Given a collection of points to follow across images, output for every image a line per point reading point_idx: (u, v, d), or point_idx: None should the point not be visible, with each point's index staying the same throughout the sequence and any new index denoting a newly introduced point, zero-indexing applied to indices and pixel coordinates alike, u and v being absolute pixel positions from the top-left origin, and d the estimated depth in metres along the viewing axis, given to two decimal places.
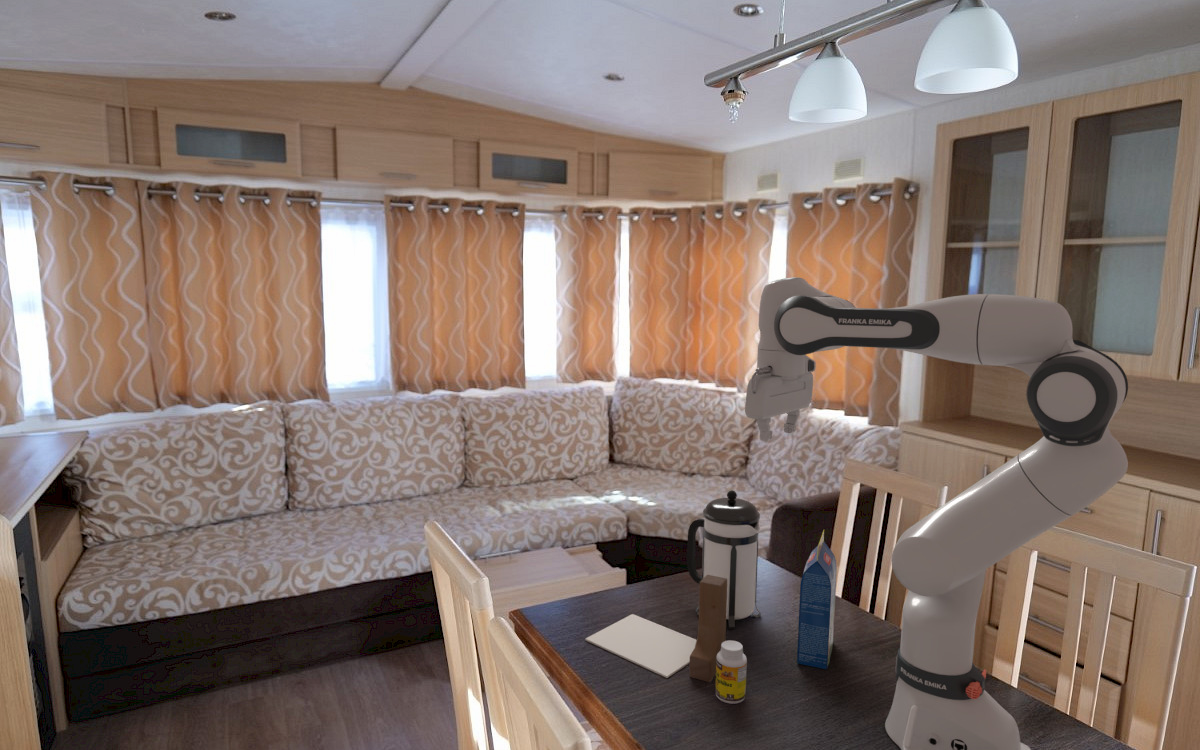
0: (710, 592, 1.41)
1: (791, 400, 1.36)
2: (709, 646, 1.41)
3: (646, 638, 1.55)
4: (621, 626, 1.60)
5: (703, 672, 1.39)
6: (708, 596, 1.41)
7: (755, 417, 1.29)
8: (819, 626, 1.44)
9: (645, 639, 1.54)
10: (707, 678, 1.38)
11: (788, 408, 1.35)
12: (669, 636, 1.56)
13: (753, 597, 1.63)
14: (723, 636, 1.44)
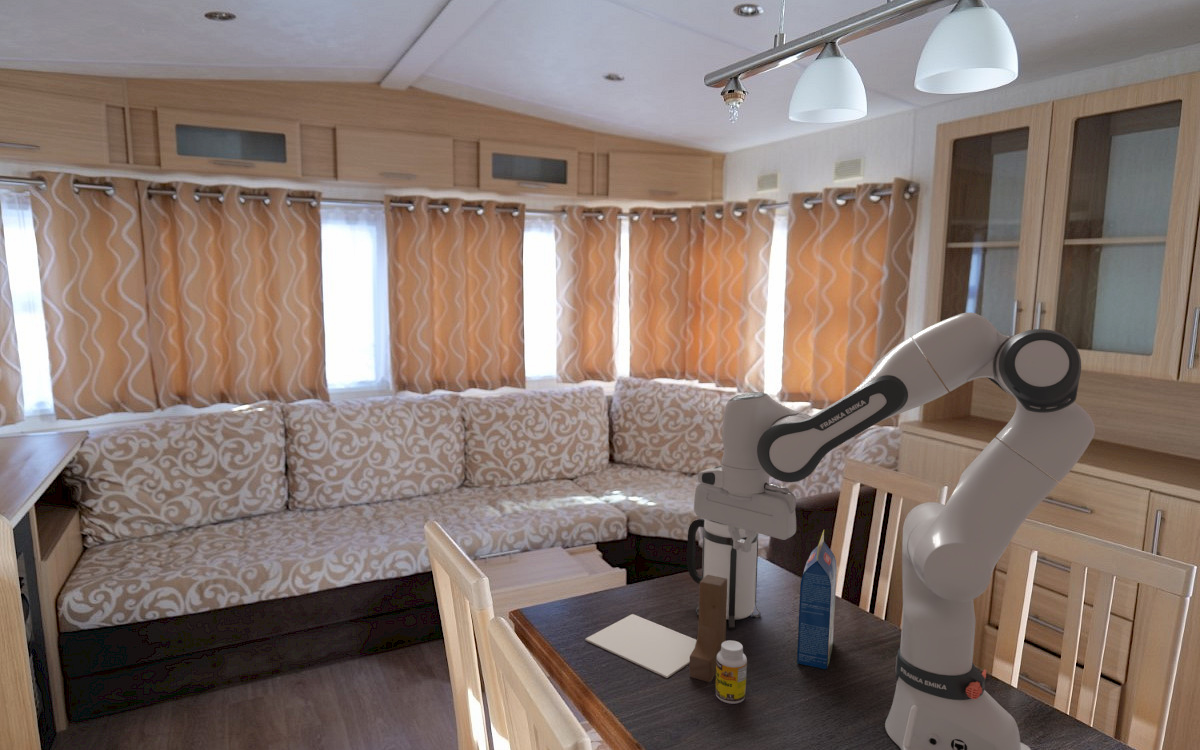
0: (710, 592, 1.41)
1: None
2: (709, 646, 1.41)
3: (646, 638, 1.55)
4: (621, 626, 1.60)
5: (703, 672, 1.39)
6: (708, 596, 1.41)
7: None
8: (819, 626, 1.44)
9: (645, 639, 1.54)
10: (707, 678, 1.38)
11: None
12: (669, 636, 1.56)
13: (753, 597, 1.63)
14: (723, 636, 1.44)
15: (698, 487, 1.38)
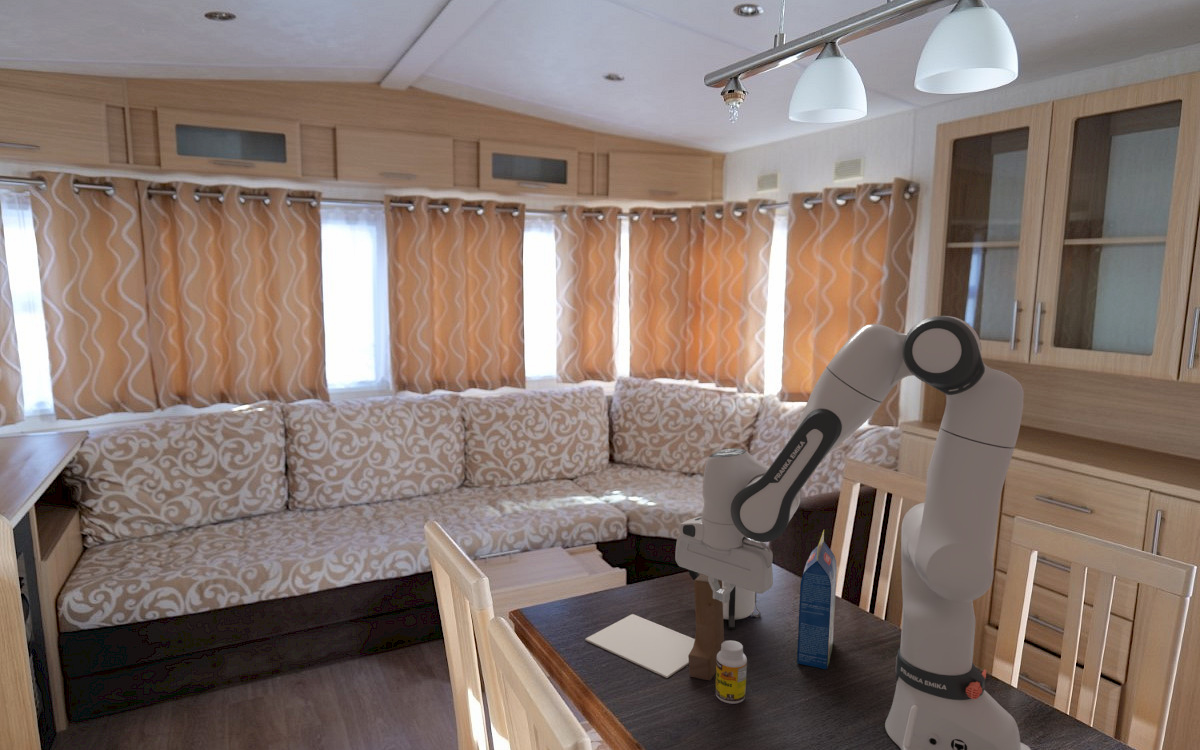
0: (705, 590, 1.42)
1: None
2: (707, 644, 1.41)
3: (646, 638, 1.55)
4: (621, 626, 1.60)
5: (702, 670, 1.39)
6: (703, 594, 1.42)
7: (768, 589, 1.33)
8: (819, 626, 1.44)
9: (645, 639, 1.54)
10: (707, 676, 1.38)
11: None
12: (669, 636, 1.56)
13: (753, 597, 1.63)
14: (721, 634, 1.44)
15: (679, 538, 1.42)
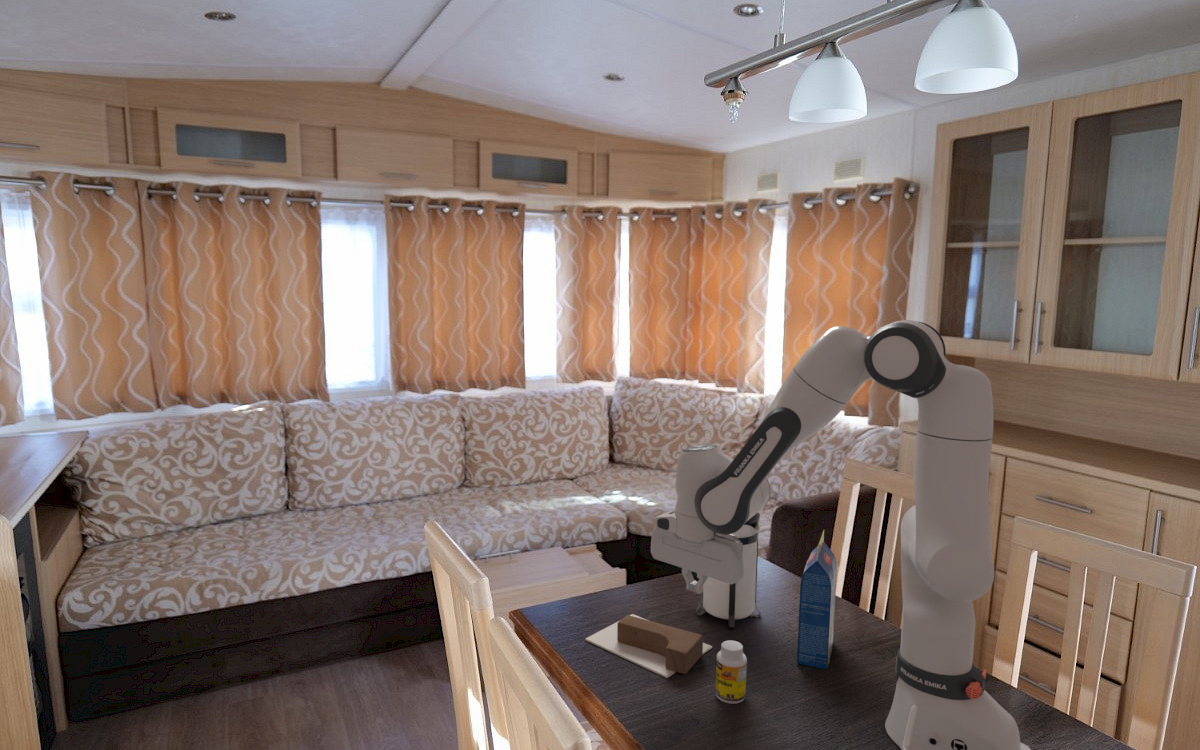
0: (623, 633, 1.52)
1: None
2: (667, 646, 1.45)
3: None
4: None
5: (677, 658, 1.41)
6: (627, 636, 1.51)
7: (738, 580, 1.37)
8: (819, 627, 1.44)
9: None
10: (682, 655, 1.40)
11: None
12: None
13: (753, 597, 1.63)
14: (671, 630, 1.49)
15: (654, 531, 1.46)
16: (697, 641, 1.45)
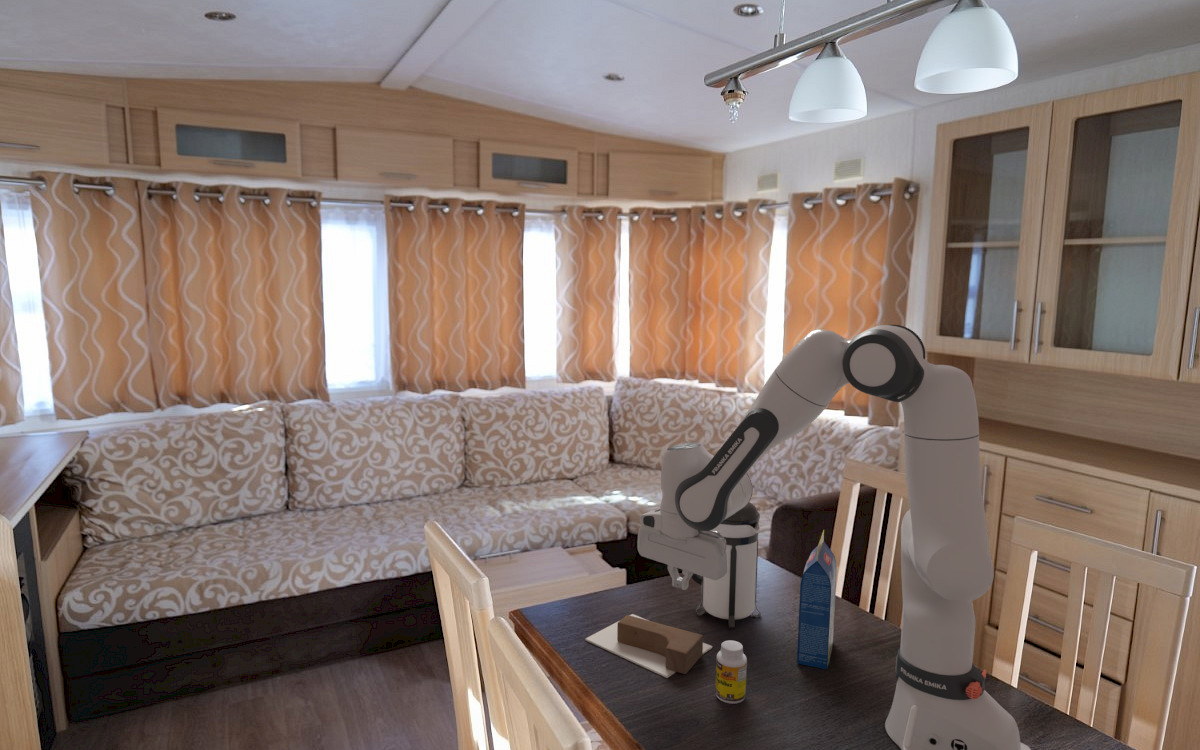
0: (623, 633, 1.52)
1: None
2: (667, 646, 1.45)
3: None
4: None
5: (677, 658, 1.41)
6: (627, 636, 1.51)
7: (722, 576, 1.39)
8: (819, 627, 1.44)
9: None
10: (682, 655, 1.40)
11: None
12: None
13: (753, 597, 1.63)
14: (671, 630, 1.49)
15: (640, 528, 1.48)
16: (697, 641, 1.45)
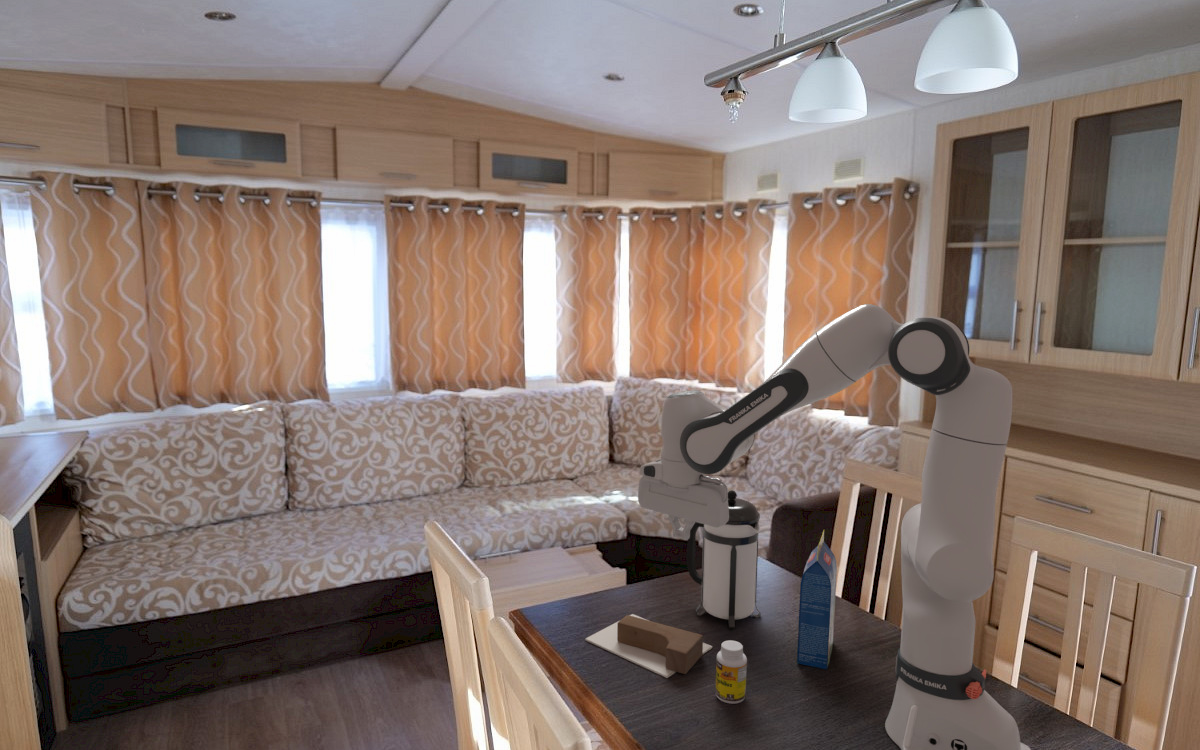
0: (623, 633, 1.52)
1: None
2: (667, 646, 1.45)
3: None
4: None
5: (677, 658, 1.41)
6: (627, 636, 1.51)
7: (724, 524, 1.38)
8: (819, 627, 1.44)
9: None
10: (682, 655, 1.40)
11: None
12: None
13: (753, 597, 1.63)
14: (671, 630, 1.49)
15: (641, 479, 1.47)
16: (697, 641, 1.45)
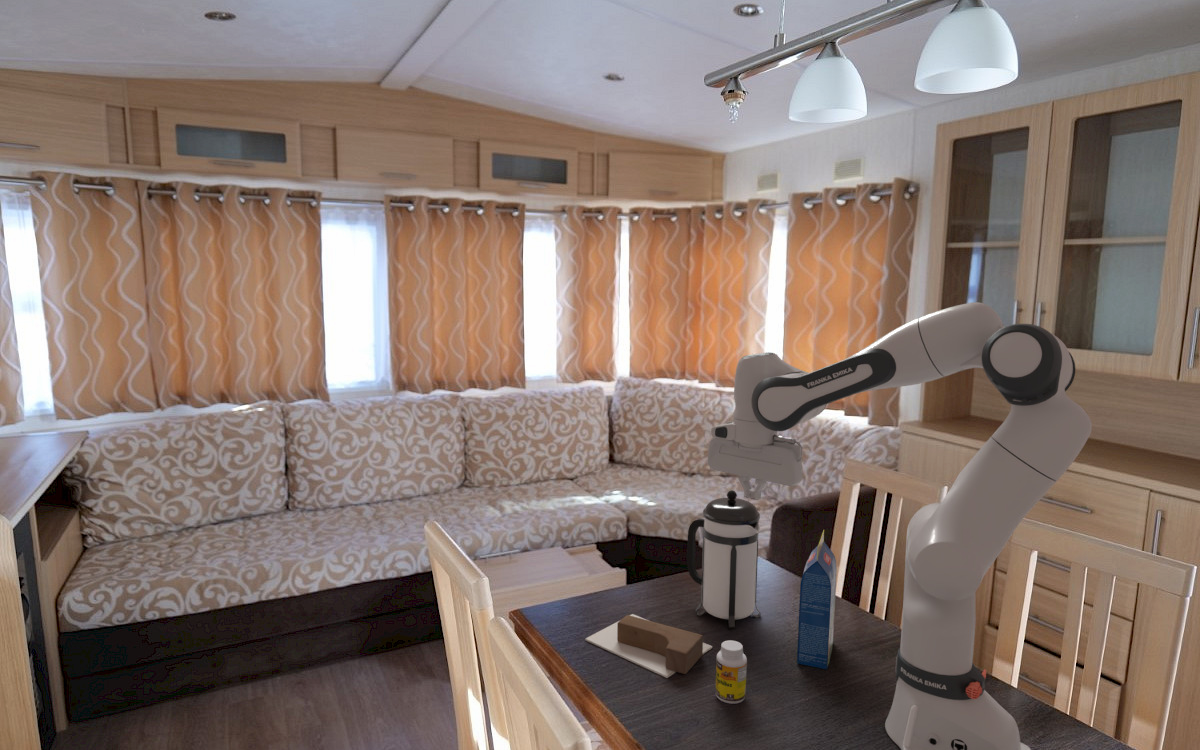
0: (623, 633, 1.52)
1: None
2: (667, 646, 1.45)
3: None
4: None
5: (677, 658, 1.41)
6: (627, 636, 1.51)
7: None
8: (819, 626, 1.44)
9: None
10: (682, 655, 1.40)
11: None
12: None
13: (753, 597, 1.63)
14: (671, 630, 1.49)
15: (711, 441, 1.49)
16: (697, 641, 1.45)
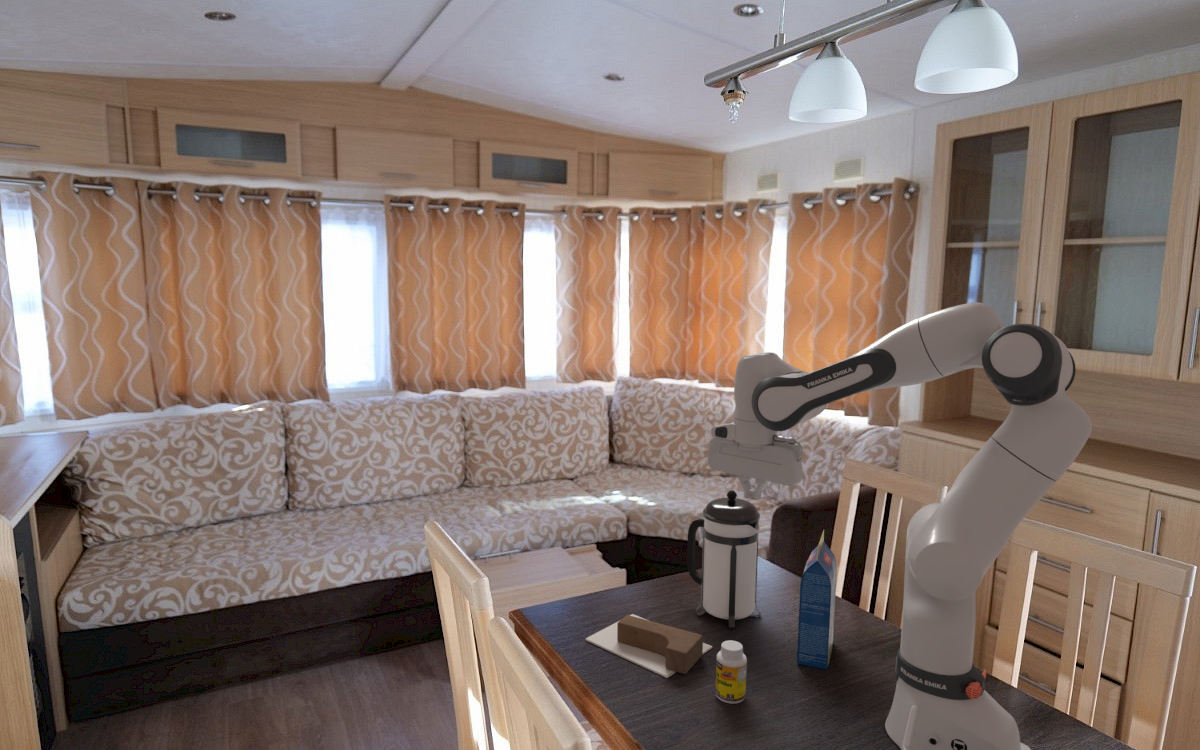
0: (623, 633, 1.52)
1: None
2: (667, 646, 1.45)
3: None
4: None
5: (677, 658, 1.41)
6: (627, 636, 1.51)
7: None
8: (819, 626, 1.44)
9: None
10: (682, 655, 1.40)
11: None
12: None
13: (753, 597, 1.63)
14: (671, 630, 1.49)
15: (711, 441, 1.49)
16: (697, 641, 1.45)
